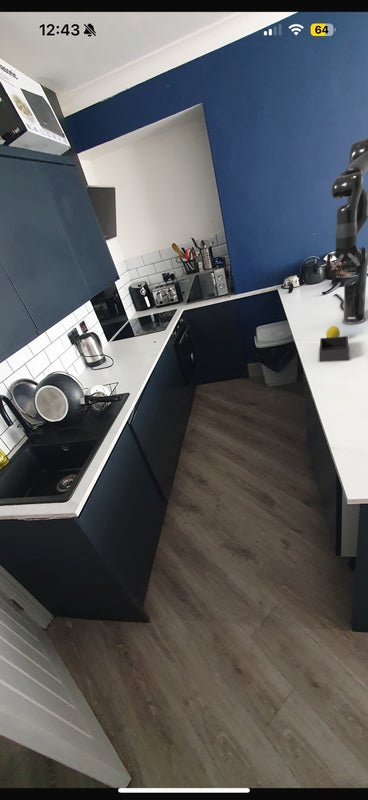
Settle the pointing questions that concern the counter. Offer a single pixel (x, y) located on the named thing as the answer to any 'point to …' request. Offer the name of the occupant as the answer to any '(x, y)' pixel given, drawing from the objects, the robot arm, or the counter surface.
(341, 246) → the robot arm
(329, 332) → the lemon
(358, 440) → the counter surface
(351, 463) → the counter surface
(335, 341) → the tote
